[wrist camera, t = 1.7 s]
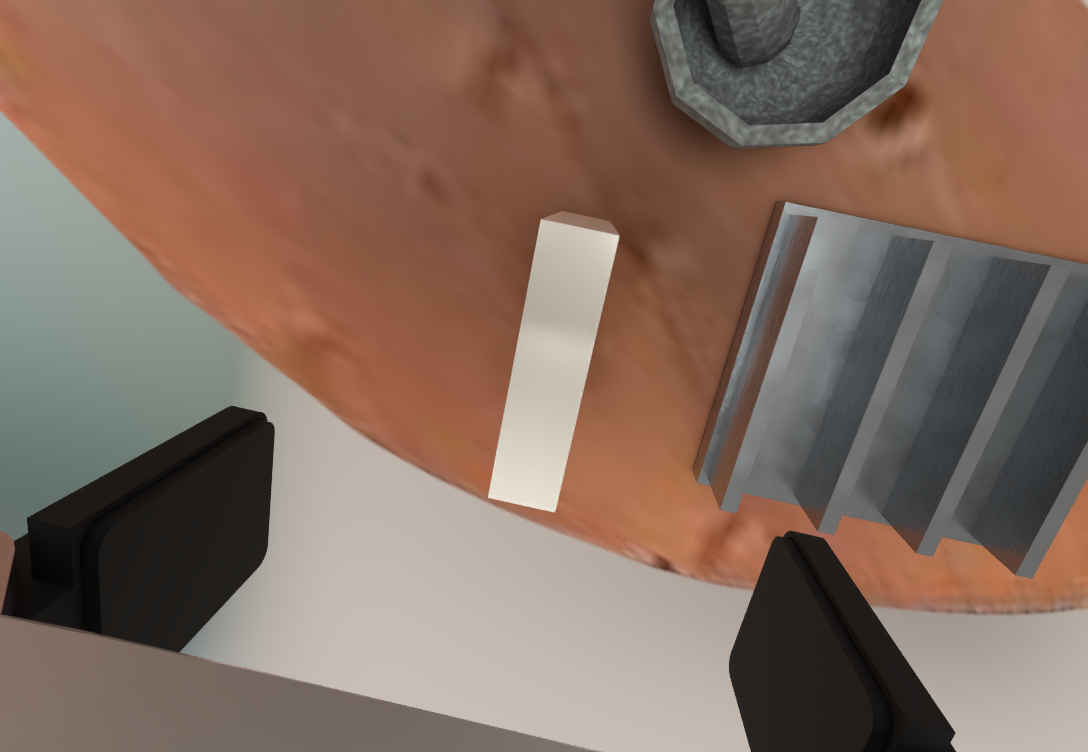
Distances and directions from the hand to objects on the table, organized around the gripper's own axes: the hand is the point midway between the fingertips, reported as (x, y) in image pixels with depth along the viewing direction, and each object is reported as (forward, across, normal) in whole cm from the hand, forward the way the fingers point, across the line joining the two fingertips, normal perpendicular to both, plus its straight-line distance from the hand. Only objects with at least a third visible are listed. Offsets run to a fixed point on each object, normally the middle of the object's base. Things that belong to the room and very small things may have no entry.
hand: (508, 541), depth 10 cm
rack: (+21, -17, 0) cm, 27 cm away
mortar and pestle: (+22, -5, -14) cm, 26 cm away
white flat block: (+21, 0, 0) cm, 21 cm away
